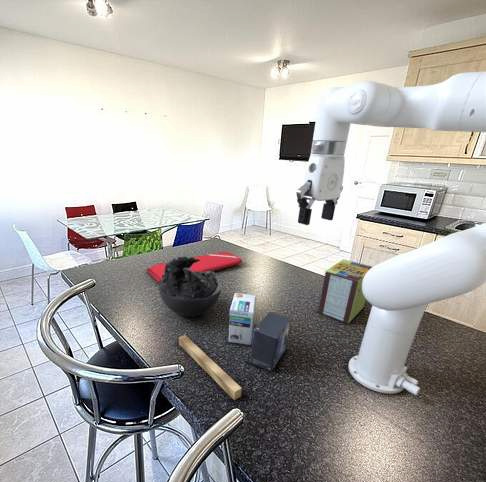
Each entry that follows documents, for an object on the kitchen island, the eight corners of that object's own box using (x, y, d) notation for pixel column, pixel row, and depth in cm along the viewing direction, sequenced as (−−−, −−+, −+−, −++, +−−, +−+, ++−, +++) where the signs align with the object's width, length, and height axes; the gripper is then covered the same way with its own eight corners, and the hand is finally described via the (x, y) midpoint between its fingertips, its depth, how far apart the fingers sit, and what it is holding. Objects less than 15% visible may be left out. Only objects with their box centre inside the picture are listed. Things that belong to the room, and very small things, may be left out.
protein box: (364, 307, 103) (374, 266, 97) (348, 324, 93) (359, 280, 87) (334, 297, 110) (343, 258, 103) (316, 312, 99) (324, 270, 93)
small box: (272, 373, 72) (277, 338, 68) (248, 363, 75) (252, 329, 71) (286, 350, 80) (291, 317, 76) (264, 342, 84) (268, 310, 79)
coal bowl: (183, 292, 110) (182, 245, 103) (230, 307, 101) (233, 256, 94) (147, 317, 94) (143, 263, 87) (200, 336, 85) (200, 278, 78)
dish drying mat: (146, 271, 128) (146, 263, 127) (224, 256, 148) (224, 249, 146) (160, 285, 116) (159, 276, 114) (243, 266, 136) (243, 259, 134)
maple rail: (241, 396, 65) (241, 388, 64) (234, 400, 64) (234, 392, 63) (185, 342, 83) (185, 334, 82) (179, 344, 82) (178, 337, 81)
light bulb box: (251, 346, 82) (254, 313, 77) (227, 342, 83) (229, 310, 79) (254, 325, 91) (256, 294, 87) (232, 322, 93) (234, 292, 88)
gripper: (319, 150, 61) (306, 229, 68) (362, 150, 71) (347, 220, 78) (291, 149, 67) (281, 222, 74) (335, 149, 76) (323, 215, 83)
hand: (315, 221), depth 76 cm, fingers open, 9 cm apart
